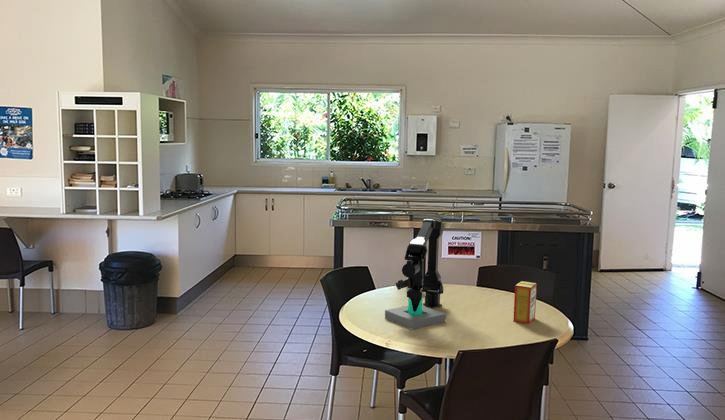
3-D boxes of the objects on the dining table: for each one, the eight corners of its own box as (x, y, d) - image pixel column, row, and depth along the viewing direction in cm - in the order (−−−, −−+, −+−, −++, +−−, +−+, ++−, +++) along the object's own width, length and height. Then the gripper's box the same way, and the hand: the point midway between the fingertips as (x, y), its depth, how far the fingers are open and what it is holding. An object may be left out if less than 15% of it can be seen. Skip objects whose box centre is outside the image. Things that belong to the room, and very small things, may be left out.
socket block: (416, 311, 260) (417, 304, 259) (445, 322, 245) (445, 314, 245) (384, 318, 249) (385, 310, 249) (412, 329, 235) (412, 320, 234)
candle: (420, 314, 250) (421, 287, 249) (423, 319, 244) (424, 291, 243) (407, 314, 250) (407, 287, 249) (408, 319, 244) (409, 290, 243)
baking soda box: (528, 324, 245) (530, 286, 243) (513, 321, 248) (515, 284, 246) (534, 318, 253) (536, 282, 251) (519, 316, 256) (521, 280, 254)
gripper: (399, 267, 255) (398, 301, 257) (394, 276, 237) (393, 314, 239) (424, 268, 254) (423, 303, 255) (422, 278, 235) (421, 315, 237)
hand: (415, 308), depth 247 cm, fingers closed on candle, 7 cm apart
